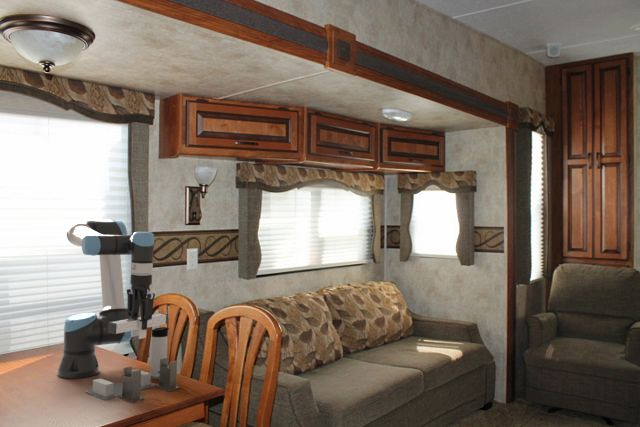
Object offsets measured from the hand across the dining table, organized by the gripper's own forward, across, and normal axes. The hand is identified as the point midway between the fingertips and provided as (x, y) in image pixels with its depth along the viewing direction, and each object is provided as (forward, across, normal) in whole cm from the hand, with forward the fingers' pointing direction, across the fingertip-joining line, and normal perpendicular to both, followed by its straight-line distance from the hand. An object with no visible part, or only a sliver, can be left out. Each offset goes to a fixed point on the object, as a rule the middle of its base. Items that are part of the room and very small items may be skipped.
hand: (138, 336), depth 203 cm
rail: (-3, 0, 0) cm, 3 cm away
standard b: (+20, +7, +9) cm, 23 cm away
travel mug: (+20, -6, +16) cm, 26 cm away
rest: (+20, -5, -2) cm, 21 cm away
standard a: (+20, +6, -7) cm, 22 cm away
